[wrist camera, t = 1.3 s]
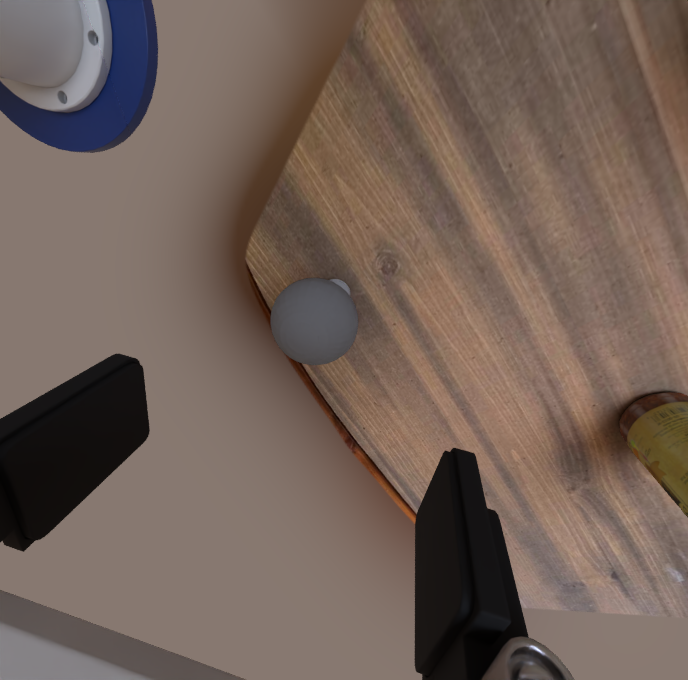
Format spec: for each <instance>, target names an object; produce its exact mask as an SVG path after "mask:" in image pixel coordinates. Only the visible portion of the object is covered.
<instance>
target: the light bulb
mask: <svg viewBox="0 0 688 680" xmlns="http://www.w3.org/2000/svg"><path fill="white" fill-rule="evenodd" d="M271 329H272V334H273V336H274V339H275V341H276V343H277V344H278V346H279V347H280V349H281V350H282V351H283V352H284V353H285V354H286V355H288V356H289V357H290V358H292V359H294V360H295V361H298V362H300V363H303V364H308V365H321V364H327V363H330V362H332V361H335V360H337V359H338V358H340V357H341V356H343V355H344V354H345V353H346V352H347V351H348V350H349V349H350V347H351V345H352V344H353V342H354V340H355V337H356V334H357V329H358V314H357V310H356V307H355V304H354V302H353V300H352V298H351V297H350V289H349V287H348V285H347V284H346V283H345V282H343V281H342V280H339V279H331V280H327V279H322V278H306V279H302V280H299V281H296V282H294V283H293V284H291V285H289V286H288V287H287V288H285V289H284V290H283V291H282V292H281V293H280V294H279V296H278V297H277V298H276V301H275V303H274V305H273V308H272V312H271Z"/></svg>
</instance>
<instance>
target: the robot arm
mask: <svg viewBox="0 0 688 680" xmlns="http://www.w3.org/2000/svg"><path fill="white" fill-rule="evenodd" d="M111 57H112V29H111V22H110V15H109V10H108V6H107V2H106V0H0V81H1V82H2V83H3V84H4V85H5V86H6V87H7V88H8V89H9V90H10V91H12V92H13V93H14V94H15V95H16V96H18V97H19V98H21V99H22V100H24V101H26V102H27V103H29V104H31V105H34V106H36V107H38V108H41V109H45V110H50V111H54V112H66V113H69V112H74V111H78V110H81V109H83V108H84V107H86V106H88V105H90V104H91V103H92V102H93V101H94V99H95V98H96V97H97V96H98V95H99V93H100V92H101V90H102V88H103V86H104V85H105V82H106V79H107V76H108V73H109V70H110V64H111ZM148 435H149V420H148V411H147V401H146V392H145V382H144V372H143V367H142V366H141V365H140V363H139V361H138V360H137V359H136V358H132V357H129V356H125V355H122V354H115V355H112V356H110V357H108V358H107V359H105V360H103V361H102V362H100V363H98V364H96V365H94V366H93V367H91V368H89V369H87V370H86V371H84V372H82V373H80V374H79V375H77V376H75V377H73V378H72V379H70V380H68V381H66V382H65V383H63V384H61V385H59V386H57V387H56V388H54V389H52V390H50V391H49V392H47V393H45V394H44V395H42V396H40V397H38V398H36V399H35V400H33V401H31V402H29V403H28V404H26V405H24V406H22V407H21V408H19V409H17V410H15V411H14V412H12V413H10V414H8V415H6V416H5V417H3V418H1V419H0V542H1V541H3V543H4V545H6V546H9V547H12V548H15V549H17V550H20V551H25V550H26V549H27V548H28V547H29V546H30V545H31V544H32V543H33V542H34V541H35V540H39V539H41V538H43V537H45V536H46V535H47V534H48V533H49V532H50V531H51V530H53V529H54V528H55V527H56V526H57V525H58V524H59V523H60V522H61V521H62V520H63V519H64V518H65V517H66V516H67V515H68V514H69V513H70V512H71V511H72V510H73V509H74V508H76V507H77V506H78V505H79V504H80V503H81V502H82V501H83V500H84V499H85V498H86V497H87V496H88V495H89V494H90V493H91V492H92V491H93V490H94V489H96V487H97V486H99V485H100V484H101V483H102V482H103V481H104V480H105V479H106V478H107V477H108V476H109V475H110V474H111V473H112V472H113V471H114V470H115V469H116V468H118V466H120V465H121V464H122V463H123V462H124V461H125V460H126V459H127V458H128V457H129V456H130V455H131V454H132V453H133V452H134V451H135V450H136V449H137V448H138V447H140V446H141V445H142V444H143V443H144V441H145V440H146V439H147V437H148ZM415 668H416V671H417V672H418V673H421V674H422V676H423V677H422V680H574V678H573V677H572V675H571V673H570V672H569V670H568V669H567V668H566V666H565V665H564V664H563V663H562V662H561V660H560V659H559V658H558V657H557V656H556V655H555V654H554V653H553V652H551V651H550V650H549V649H548V648H547V647H546V646H544V645H542V644H541V643H539V642H537V641H535V640H534V639H531V638H529V637H528V633H527V629H526V625H525V621H524V617H523V613H522V608H521V604H520V600H519V596H518V592H517V588H516V584H515V580H514V576H513V572H512V568H511V564H510V560H509V556H508V551H507V547H506V543H505V539H504V535H503V531H502V527H501V523H500V519H499V517H498V514H497V513H496V512H495V511H494V510H491V509H488V508H487V506H486V502H485V497H484V492H483V488H482V483H481V478H480V474H479V469H478V464H477V460H476V456H475V454H474V453H471V452H468V451H464V450H460V449H457V448H453V449H452V450H451V451H450V452H448V451H445V452H444V453H443V455H442V457H441V459H440V462H439V464H438V466H437V469H436V471H435V473H434V475H433V478H432V480H431V482H430V484H429V487H428V489H427V491H426V494H425V496H424V498H423V500H422V503H421V505H420V507H419V510H418V512H417V516H416V523H415ZM0 680H245V679H243V678H240V677H237V676H235V675H232V674H229V673H227V672H224V671H221V670H218V669H216V668H213V667H210V666H207V665H205V664H202V663H200V662H197V661H194V660H191V659H189V658H186V657H184V656H181V655H178V654H175V653H173V652H170V651H167V650H164V649H162V648H159V647H156V646H154V645H151V644H148V643H145V642H143V641H140V640H137V639H134V638H132V637H129V636H126V635H124V634H120V633H118V632H115V631H113V630H110V629H107V628H104V627H102V626H99V625H96V624H93V623H91V622H88V621H85V620H82V619H80V618H77V617H74V616H71V615H69V614H66V613H63V612H60V611H58V610H55V609H52V608H49V607H46V606H43V605H41V604H38V603H35V602H33V601H30V600H27V599H24V598H21V597H18V596H16V595H13V594H10V593H7V592H4V591H2V590H0Z"/></svg>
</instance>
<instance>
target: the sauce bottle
mask: <svg viewBox="0 0 688 680" xmlns="http://www.w3.org/2000/svg"><path fill="white" fill-rule="evenodd" d="M619 428H620V433H621V435H622V437H623V438H624V440H625V441H626V442H627V443H628V446H629V448H630V449H631V451H632V452H633V453H634V455H635V456H636V457H637V458H638V459H639V460H640V462H641V463H642V464H643V465H644V466H645V468H646V469H647V470H648V471H649V472H650V473H651V474H652V476H653V477H654V478H655V479H656V480H657V482H658V483H659V484H660V485H661V486H662V487H663V489H664V490H665V491H666V492H667V493H668V495H669V496H670V497H671V498H672V499H673V500H674V502H675V503H676V504H677V505H678V506H679V507H680V508H681V510H682V511H683V513H684V514H685V515H686V516H687V517H688V396H687V395H684V394H681V393H675V392H665V393H659V394H651V395H648V396H646V397H643V398H641V399H639V400H637V401H635V402H634V403H633V404H632V405H630V406H629V407H628V408H627V409H626V411H625V412H624V413H623V415H622V417H621V419H620V422H619Z"/></svg>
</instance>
